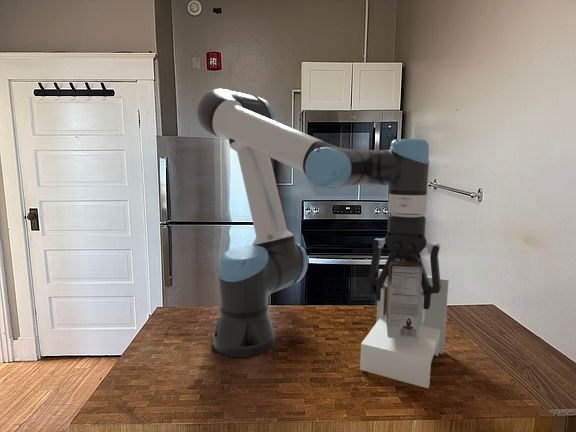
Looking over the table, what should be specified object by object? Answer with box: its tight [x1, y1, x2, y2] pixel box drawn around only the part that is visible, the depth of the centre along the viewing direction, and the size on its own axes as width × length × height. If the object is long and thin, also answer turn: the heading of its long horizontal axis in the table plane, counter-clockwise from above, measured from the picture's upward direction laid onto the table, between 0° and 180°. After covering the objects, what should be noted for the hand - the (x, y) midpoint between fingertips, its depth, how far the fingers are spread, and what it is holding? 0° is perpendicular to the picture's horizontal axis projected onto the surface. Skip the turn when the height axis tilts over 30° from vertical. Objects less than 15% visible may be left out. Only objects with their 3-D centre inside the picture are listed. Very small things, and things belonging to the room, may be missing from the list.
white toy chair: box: [359, 268, 450, 389], centre depth 84 cm, size 16×18×18 cm
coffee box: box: [386, 253, 422, 340], centre depth 80 cm, size 9×6×16 cm
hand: (401, 318), depth 81 cm, fingers closed on coffee box, 7 cm apart
